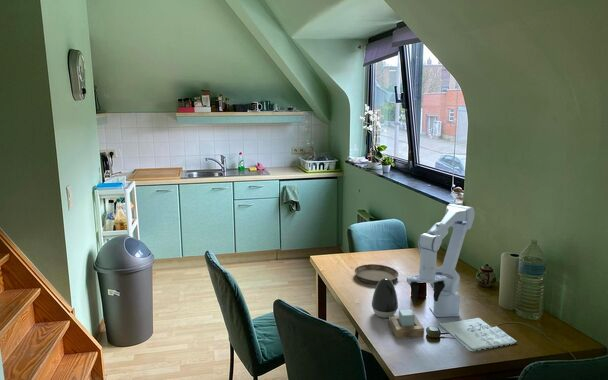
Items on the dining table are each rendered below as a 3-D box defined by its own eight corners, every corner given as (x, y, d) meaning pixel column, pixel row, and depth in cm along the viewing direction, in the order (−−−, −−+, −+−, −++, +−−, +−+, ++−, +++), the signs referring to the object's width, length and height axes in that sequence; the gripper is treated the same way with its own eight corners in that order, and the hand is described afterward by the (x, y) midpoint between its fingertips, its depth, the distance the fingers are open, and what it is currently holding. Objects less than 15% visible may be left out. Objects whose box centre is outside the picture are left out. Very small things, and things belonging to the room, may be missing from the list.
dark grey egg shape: (378, 322, 174) (379, 285, 171) (367, 310, 184) (368, 275, 181) (402, 319, 177) (404, 282, 174) (390, 307, 187) (391, 272, 184)
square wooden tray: (414, 323, 174) (415, 315, 173) (423, 337, 164) (424, 328, 163) (389, 324, 173) (389, 316, 172) (396, 338, 163) (396, 329, 162)
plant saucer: (396, 270, 226) (396, 264, 226) (400, 288, 206) (400, 281, 206) (354, 269, 228) (354, 263, 228) (354, 286, 208) (354, 279, 208)
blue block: (410, 321, 170) (411, 309, 169) (414, 327, 166) (414, 315, 165) (398, 322, 170) (399, 309, 169) (401, 328, 165) (402, 315, 164)
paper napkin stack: (470, 353, 155) (471, 348, 154) (437, 325, 174) (438, 320, 173) (517, 345, 160) (518, 339, 159) (480, 318, 179) (480, 313, 178)
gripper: (411, 270, 162) (409, 305, 165) (451, 269, 164) (448, 304, 166) (405, 263, 169) (403, 297, 172) (443, 262, 171) (441, 296, 173)
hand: (425, 300), depth 170 cm, fingers open, 7 cm apart
